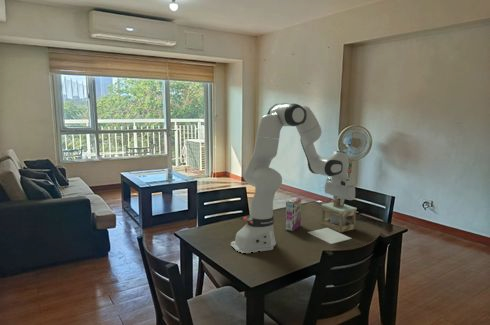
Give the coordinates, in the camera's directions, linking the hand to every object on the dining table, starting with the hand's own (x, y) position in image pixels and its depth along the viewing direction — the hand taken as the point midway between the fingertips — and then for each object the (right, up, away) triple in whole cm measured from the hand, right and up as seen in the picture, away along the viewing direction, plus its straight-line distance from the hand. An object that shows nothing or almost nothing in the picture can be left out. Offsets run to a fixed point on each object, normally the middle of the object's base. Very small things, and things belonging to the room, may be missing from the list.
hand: (338, 204), depth 186 cm
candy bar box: (-25, -14, +1) cm, 29 cm away
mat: (-8, -15, -12) cm, 21 cm away
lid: (0, -2, 0) cm, 2 cm away
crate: (0, -13, +2) cm, 13 cm away
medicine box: (0, -13, +2) cm, 13 cm away
